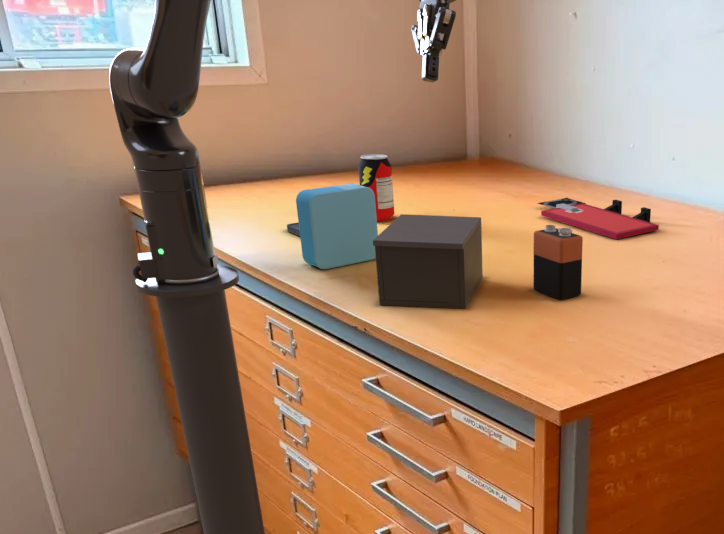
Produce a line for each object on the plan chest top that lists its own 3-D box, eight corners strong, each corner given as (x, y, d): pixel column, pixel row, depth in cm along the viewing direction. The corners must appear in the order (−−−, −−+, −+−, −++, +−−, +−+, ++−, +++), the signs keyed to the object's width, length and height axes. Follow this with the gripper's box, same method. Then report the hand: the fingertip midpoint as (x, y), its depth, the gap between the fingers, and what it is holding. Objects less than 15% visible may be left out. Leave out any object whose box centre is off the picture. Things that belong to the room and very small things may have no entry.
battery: (560, 301, 129) (561, 233, 125) (531, 290, 134) (532, 224, 129) (582, 295, 132) (584, 229, 127) (553, 285, 137) (554, 221, 132)
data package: (365, 253, 151) (359, 182, 145) (380, 258, 148) (374, 186, 143) (303, 265, 143) (294, 190, 138) (317, 271, 140) (308, 195, 135)
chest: (465, 308, 125) (463, 248, 121) (379, 305, 126) (374, 244, 122) (482, 278, 139) (481, 222, 135) (404, 274, 140) (401, 219, 136)
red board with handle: (573, 201, 192) (519, 210, 183) (573, 187, 190) (518, 197, 182) (671, 229, 172) (616, 241, 163) (672, 215, 170) (616, 226, 162)
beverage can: (387, 214, 178) (382, 152, 173) (399, 220, 173) (395, 157, 168) (357, 217, 175) (352, 155, 169) (369, 223, 170) (364, 159, 165)
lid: (462, 249, 121) (462, 243, 120) (372, 246, 121) (372, 240, 121) (481, 222, 135) (481, 217, 135) (401, 219, 136) (400, 214, 135)
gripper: (398, -31, 139) (392, 83, 142) (429, -57, 128) (423, 67, 131) (441, -18, 143) (435, 92, 146) (475, -43, 132) (468, 78, 135)
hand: (429, 80), depth 138 cm, fingers closed
